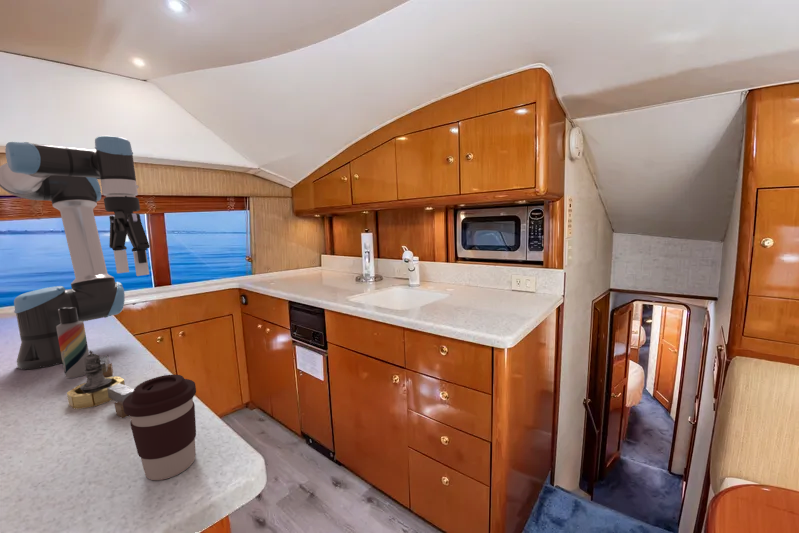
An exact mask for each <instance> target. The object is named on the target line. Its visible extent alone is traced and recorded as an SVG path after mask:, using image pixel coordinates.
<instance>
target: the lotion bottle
mask: <svg viewBox="0 0 799 533" xmlns="http://www.w3.org/2000/svg"><path fill="white" fill-rule="evenodd" d="M58 313H59V318H60V323H61V324H59V325H57V326H56V328H57V334H58V340H59V345H60V351H61V356H62V362H63V363H62V366H63V367H62V368H63V371H64V372H63V373H64V376H65V378H66V379H74V378H80V377H83V376H85V375H86V372H84V370H85V369H86V368H85V362H84V358H85V357H86V356H87V355H89V354H90V353H89V352H90V350H89V345H88V341H87V335H86V329H85V323H84V322H85V321H84V322H83V321H79V319H78V313H77V308H76V307H64V308H60V309H59V310H58Z"/></svg>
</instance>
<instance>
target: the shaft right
mask: <svg viewBox="0 0 799 533" xmlns="http://www.w3.org/2000/svg"><path fill="white" fill-rule="evenodd" d="M134 389H135V388H131V387H130V386H127V385H126V384H125V385H123V384H120V383H119V384H116V385H113V386H111V387H108V388H107V391H108V397H109V398H110V399H112V400H111V401H115V403H113V404H114V408H115V414H116V416H117V417H119V418H121V419H125V418H127V417H129V416H128V415H126V414H125V413H124V409H123V401H124V400H125V398H126V397H128V396H129V395H130V394H132V393H133V391H134Z"/></svg>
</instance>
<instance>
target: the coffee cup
mask: <svg viewBox="0 0 799 533" xmlns="http://www.w3.org/2000/svg"><path fill="white" fill-rule="evenodd" d="M133 389H134V391H133V393H132V394H130V395H129V396H128V397H126V398H125V400H124V401H123V409H124V413H125V414H126V415H128V416H127V417H129V418H130V422H129V426H130V428H131V433H132V437H133V440H134V444H135V447H136V452H137V456H139V458H140V461H141V465H142V469H143V472H144V475H145V477H146V478H147V479H149V480H152V481H162V480H163V481H164V480H166V479H171V478H174V477H176V476H178V475H180V474H181V473H183V472H185V471H186V470H187V469H188V468H190V466H191V465H193V463H194V461H195V460H196V455H197V454H196V451H197V450H196V436H197V429H196V428H197V427H196V425H197V424H196V407H195V406H196V405H195V402H194V397H195V395H196V393H197V387H196V383H195V381H193V380H192V379H188V378H184V376H183V375H182V374H164V375H159V376H156V377H153V378H149V379H148V380H145V381H143V382H141V383H139V384H138V385H136V386H135V387H134V388H133Z"/></svg>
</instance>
